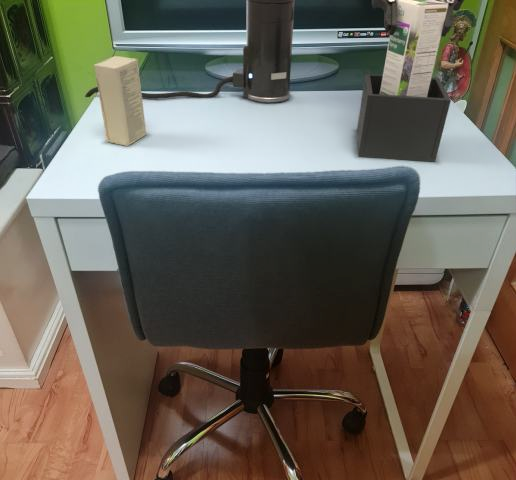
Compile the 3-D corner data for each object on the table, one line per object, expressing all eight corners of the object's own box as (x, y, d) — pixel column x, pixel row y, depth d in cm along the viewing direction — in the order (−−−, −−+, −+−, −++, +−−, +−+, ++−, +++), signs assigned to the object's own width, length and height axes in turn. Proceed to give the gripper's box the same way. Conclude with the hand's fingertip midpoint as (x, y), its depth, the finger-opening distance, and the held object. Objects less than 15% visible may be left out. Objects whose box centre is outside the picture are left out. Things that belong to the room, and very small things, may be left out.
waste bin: (358, 156, 85) (367, 95, 78) (356, 130, 94) (365, 73, 88) (435, 162, 84) (451, 100, 77) (425, 135, 93) (439, 77, 87)
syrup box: (376, 101, 85) (393, -3, 76) (404, 96, 87) (424, -5, 78) (398, 111, 82) (419, 3, 72) (426, 106, 84) (450, 1, 74)
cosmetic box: (126, 131, 91) (115, 55, 83) (148, 135, 90) (138, 58, 82) (105, 142, 87) (91, 63, 79) (128, 147, 86) (116, 67, 78)
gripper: (377, -96, 73) (377, 13, 73) (476, -94, 74) (477, 16, 73) (366, -53, 81) (365, 47, 80) (455, -51, 81) (456, 49, 80)
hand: (418, 32), depth 76 cm, fingers closed on syrup box, 7 cm apart
